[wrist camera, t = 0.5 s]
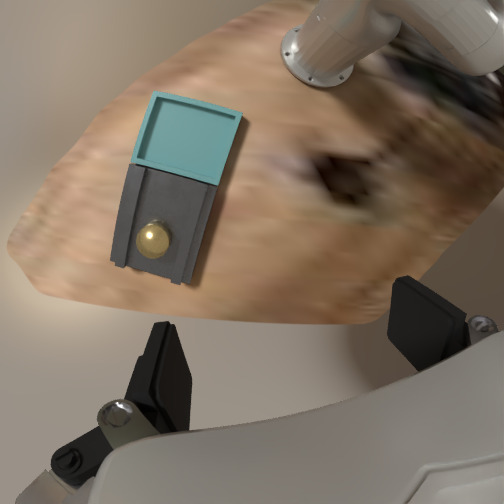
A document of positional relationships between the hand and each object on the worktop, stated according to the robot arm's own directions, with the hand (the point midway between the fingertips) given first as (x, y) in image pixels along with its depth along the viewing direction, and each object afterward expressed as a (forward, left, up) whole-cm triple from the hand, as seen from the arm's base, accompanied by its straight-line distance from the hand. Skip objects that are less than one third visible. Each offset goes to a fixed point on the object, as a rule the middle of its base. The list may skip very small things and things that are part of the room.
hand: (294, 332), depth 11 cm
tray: (-8, -11, -34) cm, 36 cm away
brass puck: (+8, -11, -32) cm, 35 cm away
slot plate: (+6, -11, -34) cm, 36 cm away
